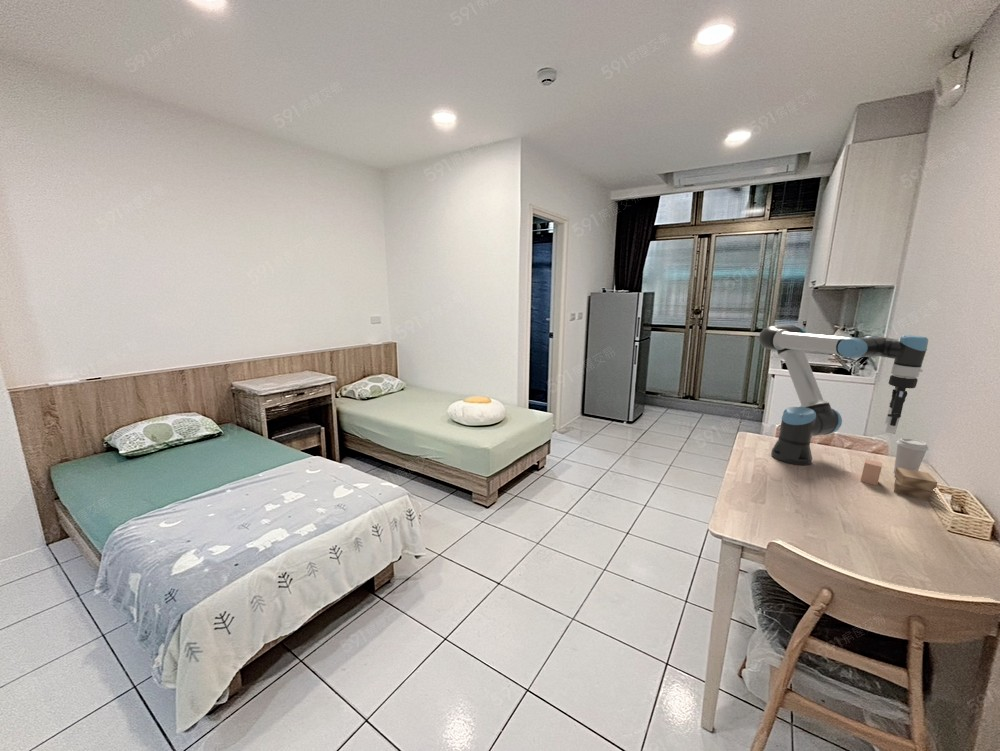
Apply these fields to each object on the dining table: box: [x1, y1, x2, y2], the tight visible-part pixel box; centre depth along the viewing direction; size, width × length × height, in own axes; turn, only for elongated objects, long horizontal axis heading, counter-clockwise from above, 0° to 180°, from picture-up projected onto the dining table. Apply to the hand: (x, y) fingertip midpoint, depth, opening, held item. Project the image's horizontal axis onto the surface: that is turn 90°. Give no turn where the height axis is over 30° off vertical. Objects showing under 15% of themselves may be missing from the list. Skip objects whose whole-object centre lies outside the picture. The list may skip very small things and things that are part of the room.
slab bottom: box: [893, 478, 933, 502], centre depth 154 cm, size 10×10×4 cm
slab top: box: [893, 467, 938, 493], centre depth 153 cm, size 9×9×4 cm
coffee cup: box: [893, 437, 929, 474], centre depth 167 cm, size 10×10×15 cm
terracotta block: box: [860, 458, 883, 486], centre depth 161 cm, size 5×5×8 cm
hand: (889, 428), depth 157 cm, fingers open, 13 cm apart
